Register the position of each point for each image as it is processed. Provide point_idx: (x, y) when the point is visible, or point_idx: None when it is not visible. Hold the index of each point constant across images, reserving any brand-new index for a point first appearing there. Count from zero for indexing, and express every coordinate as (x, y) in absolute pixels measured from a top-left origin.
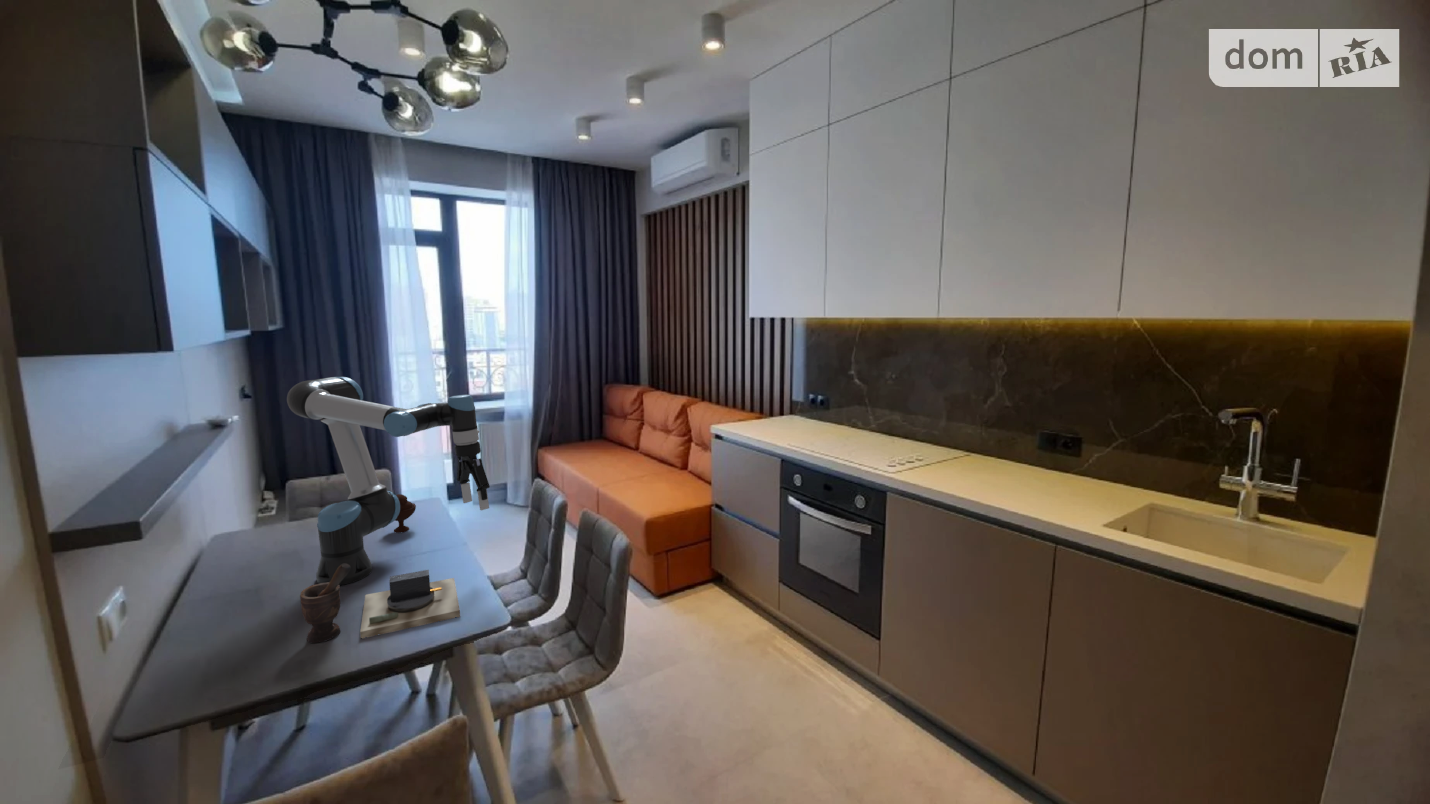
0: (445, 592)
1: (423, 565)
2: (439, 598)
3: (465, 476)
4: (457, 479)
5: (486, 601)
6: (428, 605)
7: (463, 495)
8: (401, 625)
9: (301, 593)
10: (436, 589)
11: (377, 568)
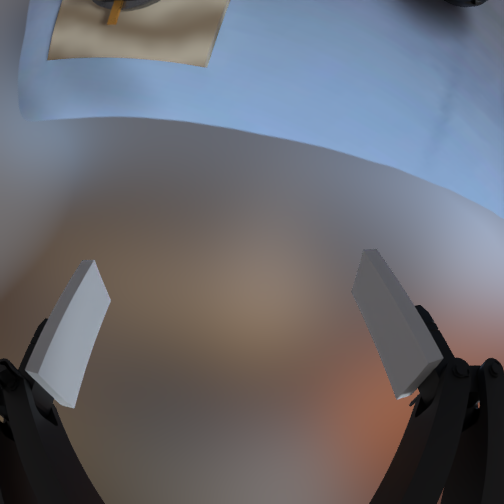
0: (133, 34)
1: (384, 62)
2: None
3: (407, 456)
4: (494, 370)
5: (79, 111)
6: None
7: (386, 289)
8: None
9: None
10: (111, 13)
11: (437, 5)
